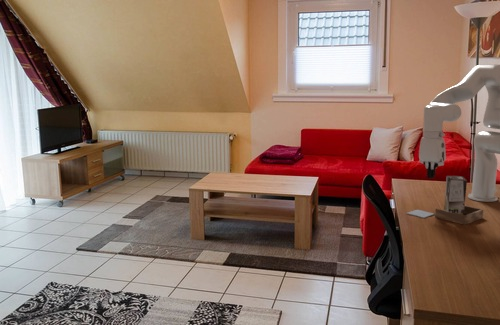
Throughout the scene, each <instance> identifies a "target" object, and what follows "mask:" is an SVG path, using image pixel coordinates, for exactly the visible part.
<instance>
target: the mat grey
mask: <svg viewBox="0 0 500 325" xmlns="http://www.w3.org/2000/svg"><path fill="white" fill-rule="evenodd" d="M406 215H410V216H413V217H417V218H421V219H426V218H428V217H429V218H430V217H431V216H435V213H433V212H428V211H425V210H421V209H414V210H412V211H408V212H406Z"/></svg>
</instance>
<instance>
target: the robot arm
mask: <svg viewBox="0 0 500 325" xmlns="http://www.w3.org/2000/svg"><path fill="white" fill-rule="evenodd" d="M484 87H485V88H486V91H487V95H488V96H487V98H488V99H487V102H486V105H485V106H486V107H485V111H484V114H483V117H482V119H483V120H482V123H483V125H484V126H485V127H486V128H488V129H494V130H500V64H489V63H488V64H478V65H475V66H473V68H472V69H471V70H470V71H469V72H468V73H467V74H466V75H465V76H464V77H463V79H461V80H460V82H459V83H458V84H456V85H454V86H451V87H450V88H447V89H446V90H443V91H442V92H440V93H439V94H437V95H436V96H435V97H434V98H433V99H432V100H431V101H430V102H429V104H428V105H426V106H424V108H423V126H422V127H423V128H422V137H421V139H420V142H419V143H420V144H419V150H418V158H419V163H421V164H423V165H424V166H425V169H426V178H427V179H433V178H435V176H436V169H437V168H438V167H441V166H444V165H445V162H446V160H447V159H446V158H447V156H446V155H447V154H446V152H447V151H446V142H445V138H443V137H445V136H446V133H444V130H443V126H444V122H447V123H449V122H450V123H451V122H455V121H457V120H459V119H460V118H461V116H462V109H461V107H460V106H459V105H457V104H456V103H461V102H466V101H468V100H471V99H473V98H475V97H476V95H477V94H478V93H479V92H480V91H481V90H482V89H483V88H484ZM473 146H474V147H473V148H474V165H473V166H474V167H473V176H472V185H471V186H472V187H471V193H468V194H467V198H468V199H469V200H473V201H477V202H482V203H483V202H484V203H485V202H487V203H491V202H492V203H494V202H498V199H499V198H498V197H497V196H496V195H495V193H497V192H498V189H497V188H496V181H497V173H498V159H497V155H500V131H492V130H483V131H479V132H478V133H476V134H475V135H474V138H473ZM496 154H497V155H496Z"/></svg>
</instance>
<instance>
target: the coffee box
mask: <svg viewBox="0 0 500 325" xmlns="http://www.w3.org/2000/svg"><path fill="white" fill-rule="evenodd" d="M445 180H446V181H445V193H444V207H443V210H444V211H448V212H452V213H456V214H461V215H465V214H464V207H465V206H466V205H465V204H466V195H467V184H468V180H467V179H466V178H465V177H464V176H462V175H461V176H460V175H446V179H445Z"/></svg>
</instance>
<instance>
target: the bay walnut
mask: <svg viewBox="0 0 500 325" xmlns="http://www.w3.org/2000/svg"><path fill="white" fill-rule="evenodd" d="M434 214H435V215H434V218H437V219H441V220H444V221H448V222H452V223H455V224H461V225H463V226H466V225H468V224H471V223H473V222H475V221H478V220H481V219H483V217H484V209H482V208H477V207H472V206H468V205H465V207H464V215H461V214H456V213H452V212H448V211H444V209H439V208H435V213H434Z"/></svg>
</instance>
